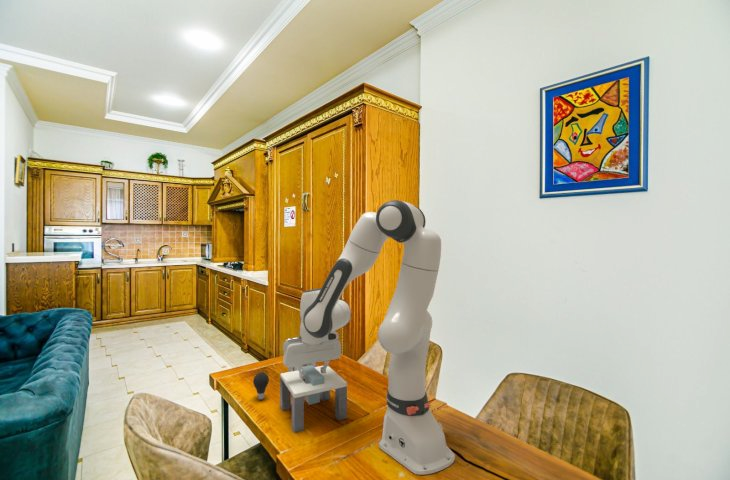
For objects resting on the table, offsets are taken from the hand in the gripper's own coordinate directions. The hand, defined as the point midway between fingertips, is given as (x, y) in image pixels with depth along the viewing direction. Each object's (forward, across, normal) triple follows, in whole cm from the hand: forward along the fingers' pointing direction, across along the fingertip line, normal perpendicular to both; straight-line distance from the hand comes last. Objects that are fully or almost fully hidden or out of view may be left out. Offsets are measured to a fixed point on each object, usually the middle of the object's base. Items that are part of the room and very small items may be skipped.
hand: (312, 374), depth 114 cm
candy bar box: (+13, +4, +24) cm, 28 cm away
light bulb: (+13, -14, +18) cm, 26 cm away
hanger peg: (+9, 0, 0) cm, 9 cm away
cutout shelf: (+13, 0, 0) cm, 13 cm away
